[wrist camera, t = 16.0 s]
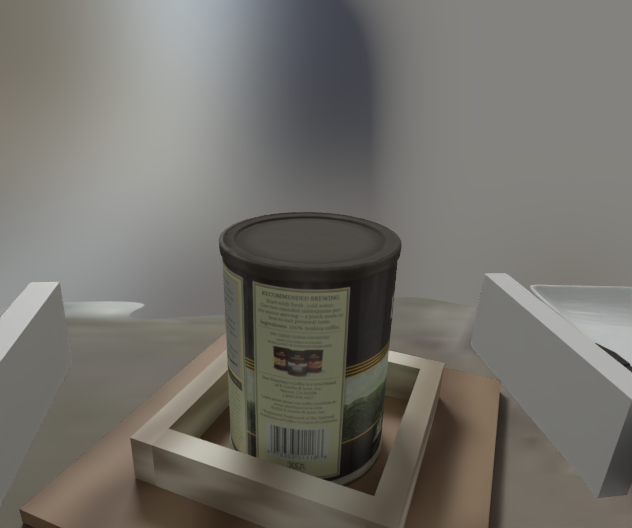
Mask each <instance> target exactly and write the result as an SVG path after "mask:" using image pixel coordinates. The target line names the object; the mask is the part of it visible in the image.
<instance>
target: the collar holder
mask: <svg viewBox="0 0 632 528" xmlns="http://www.w3.org/2000/svg"><path fill="white" fill-rule="evenodd" d="M500 384H501V381H500V380H496V379H491V378H487V377H483V376H478V375H474V374H470V373H465V372H461V371H457V370H452V369H448V368H444V363H441V362H437V361H432V360H428V359H424V358H419V357H415V356H410V355H406V354H402V353H397V352H393V351H389V354H388V365H387V376H386V388H385V398H384V412H383V422H382V446H381V451H380V453H379V456H378V458H377V459H376V461H375V463H374V464H373V465H372V467H371V468H370V469H369V470H368V471H367V472H366V473H364V474H363V475H362V476H361V477H359V478H357V479H356V480H354V481H352V482H350V483H348V484H345V485H343V486H341V485H338V484H335V483H332V482H329V481H326V480H323V479H320V478H317V477H314V476H311V475H308V474H305V473H302V472H299V471H296V470H293V469H290V468H287V467H284V466H281V465H278V464H275V463H271V462H268V461H265V460H262V459H259V458H256V457H253V456H250V455H247V454H244V453H241V452H238V451H235V450H232V449H231V446H230V407H229V386H228V364H227V342H226V332H225V333H224V334H223V335H222V336H221V337H219V338H218V339H217V340H216V341H215V342H214V343H212V344H211V345H210V346H209V347H208V348H207V349H205V350H204V351H203V352H202V353H201V354H200V355H198V356H197V357H196V358H195V359H194V360H193V361H191V362H190V363H189V364H188V365H187V366H186V367H184V368H183V369H182V370H181V371H180V372H179V373H177V374H176V375H175V376H174V377H173V378H172V379H170V380H169V381H168V382H167V383H166V384H165V385H163V386H162V387H161V388H160V389H159V390H158V391H156V392H155V393H154V394H153V395H152V396H151V397H149V398H148V399H147V400H146V401H145V402H144V403H142V404H141V405H140V406H139V407H138V408H137V409H135V410H134V411H133V412H132V413H131V414H130V415H128V416H127V417H126V418H125V419H124V420H123V421H121V422H120V423H119V424H118V425H117V426H116V427H114V428H113V429H112V430H111V431H110V432H109V433H107V434H106V435H105V436H104V437H103V438H102V439H100V440H99V441H98V442H97V443H96V444H95V445H93V446H92V447H91V448H90V449H89V450H88V451H87V452H85V453H84V454H83V455H82V456H81V457H80V458H78V459H77V460H76V461H75V462H74V463H73V464H71V465H70V466H69V467H68V468H67V469H66V470H64V471H63V472H62V473H61V474H60V475H59V476H57V477H56V478H55V479H54V480H53V481H52V482H50V483H49V484H48V485H47V486H46V487H45V488H43V489H42V490H41V491H40V492H39V493H38V494H36V495H35V496H34V497H33V498H32V499H31V500H29V501H28V502H27V503H26V504H25V505H24V506H22V507H21V508H20V513H21V517H22V521H23V523H25V524H27V525H29V526H32V527H34V528H488V523H489V512H490V500H491V488H492V477H493V465H494V454H495V442H496V430H497V419H498V407H499V396H500Z"/></svg>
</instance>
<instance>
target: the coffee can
mask: <svg viewBox="0 0 632 528" xmlns="http://www.w3.org/2000/svg"><path fill="white" fill-rule="evenodd" d="M219 248H220V253H221V256H222V258H223V278H224V301H225V321H226V342H227V364H228V386H229V407H230V446H231V449H232V450H235V451H238V452H241V453H244V454H247V455H250V456H253V457H256V458H259V459H262V460H265V461H268V462H271V463H275V464H278V465H281V466H284V467H287V468H290V469H293V470H296V471H299V472H302V473H305V474H308V475H311V476H314V477H317V478H320V479H323V480H326V481H329V482H332V483H335V484H338V485H341V486H343V485H345V484H348V483H350V482H352V481H354V480H356V479H357V478H359V477H361V476H362V475H363V474H364V473H366V472H367V471H368V470H369V469H370V468H371V467H372V465H373V464H374V463H375V461H376V459H377V458H378V456H379V453H380V451H381V446H382V422H383V412H384V398H385V388H386V376H387V365H388V354H389V343H390V332H391V322H392V313H393V302H394V291H395V281H396V270H397V260H398V259H399V256H400V251H401V240H400V238H399V237H398V236H397V234H396V233H394V232H393V231H392V230H390V229H388V228H387V227H385V226H382V225H380V224H378V223H375V222H372V221H368V220H365V219H361V218H356V217H352V216H347V215H339V214H331V213H315V212H302V213H301V212H299V213H298V212H293V213H279V214H271V215H264V216H259V217H255V218H251V219H247V220H244V221H241V222H238V223H236V224H233V225H232V226H230V227H228V228H227V229H225V230H224V231H223V232H222V234H221V235H220V238H219Z"/></svg>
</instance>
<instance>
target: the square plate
mask: <svg viewBox="0 0 632 528" xmlns="http://www.w3.org/2000/svg"><path fill="white" fill-rule="evenodd" d="M530 288H531V290H532V292H533V293H534V294H535V295H536V297H537V298H538V299H539V300H540V301H542V302H543V303H544V304H546V305H547V306H548V307H549V308H551V309H552V310H553V311H554V312H556V313H557V314H558V315H560V316H561V317H562V318H563V319H565V320H566V321H567V322H568V323H570V324H571V325H572V326H574V327H575V328H576V329H577V330H579V331H580V332H581V333H582V334H584V335H585V336H586V337H587V338H589V339H590V340H591V341H593V342H594V343H597V344H599V345H601V346H603V347H605V348H607V349H609V350H611V351H613V352H615V353H617V354H618V355H619V356H621V357H622V358H623V359H625V360H626V361H627V362H628V363H630V366H632V287H611V286H610V287H609V286H557V285H532V286H530Z"/></svg>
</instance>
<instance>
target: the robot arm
mask: <svg viewBox="0 0 632 528" xmlns="http://www.w3.org/2000/svg"><path fill="white" fill-rule="evenodd" d="M471 347H472V348H473V349H474V350H475V351H476V353H477V354H478V355H479V356H480V357H481V359H482V360H483V361H484V362H485V363H486V365H487V366H488V367H489V368H490V369H491V371H492V372H493V373H494V374H495V375H496V377H497V378H498V379H499V380H500V381H501V383H502V384H503V385H504V386H505V387H506V389H507V390H508V391H509V392H510V393H511V395H512V396H513V397H514V398H515V399H516V401H517V402H518V403H519V404H520V405H521V407H522V408H523V409H524V410H525V411H526V413H527V414H528V415H529V416H530V417H531V419H532V420H533V421H534V422H535V423H536V425H537V426H538V427H539V428H540V429H541V431H542V432H543V433H544V434H545V435H546V437H547V438H548V439H549V440H550V441H551V443H552V444H553V445H554V446H555V447H556V449H557V450H558V451H559V452H560V453H561V455H562V456H563V457H564V458H565V459H566V461H567V462H568V463H569V464H570V465H571V467H572V468H573V469H574V470H575V471H576V473H577V474H578V475H579V476H580V477H581V479H582V480H583V481H584V482H585V483H586V485H587V486H588V487H589V488H590V489H591V491H592V492H593V493H594V494H595V495H596V497H597V498H601V497H611V496H620V495H627V493H628V490H629V488H630V485H631V483H632V366H630V363H628V362H627V361H626V360H625V359H623V358H622V357H621V356H619V355H618V354H617V353H615V352H613V351H611V350H609V349H607V348H605V347H603V346H601V345H599V344H597V343H594V342H593V341H591V340H590V339H589V338H587V337H586V336H585V335H584V334H582V333H581V332H580V331H579V330H577V329H576V328H575V327H574V326H572V325H571V324H570V323H568V322H567V321H566V320H565V319H563V318H562V317H561V316H560V315H558V314H557V313H556V312H554V311H553V310H552V309H551V308H549V307H548V306H547V305H546V304H544V303H543V302H542V301H540V300H539V299H538V298H537V297H535V296H534V295H533V294H532V293H530V292H529V291H528V290H526V289H525V288H524V287H523V286H521V285H520V284H519V283H517V282H516V281H515V280H514V279H513V278H511V277H510V276H509V275H507V274H506V273H494V274H493V273H492V274H484V279H483V284H482V289H481V294H480V299H479V304H478V310H477V315H476V320H475V325H474V330H473V335H472V340H471ZM71 365H72V358H71V351H70V345H69V339H68V332H67V326H66V320H65V313H64V307H63V301H62V294H61V288H60V282H31V283H30V284H29V285H28V286H27V287H26V288H25V290H24V291H23V292H22V293H21V294H20V295H19V297H18V298H17V299H16V300H15V301H14V302H13V303H12V305H11V306H10V307H9V308H8V309H7V310H6V311H5V313H4V314H3V315H2V316H1V317H0V506H1V504H2V502H3V500H4V498H5V496H6V494H7V492H8V490H9V488H10V486H11V484H12V482H13V480H14V478H15V476H16V474H17V472H18V470H19V468H20V466H21V464H22V462H23V460H24V458H25V456H26V454H27V453H28V451H29V449H30V447H31V445H32V443H33V441H34V439H35V437H36V435H37V433H38V431H39V429H40V427H41V425H42V423H43V421H44V419H45V417H46V415H47V413H48V411H49V409H50V407H51V405H52V403H53V401H54V399H55V397H56V395H57V393H58V391H59V389H60V387H61V385H62V383H63V381H64V379H65V377H66V375H67V373H68V371H69V369H70V367H71Z"/></svg>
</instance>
